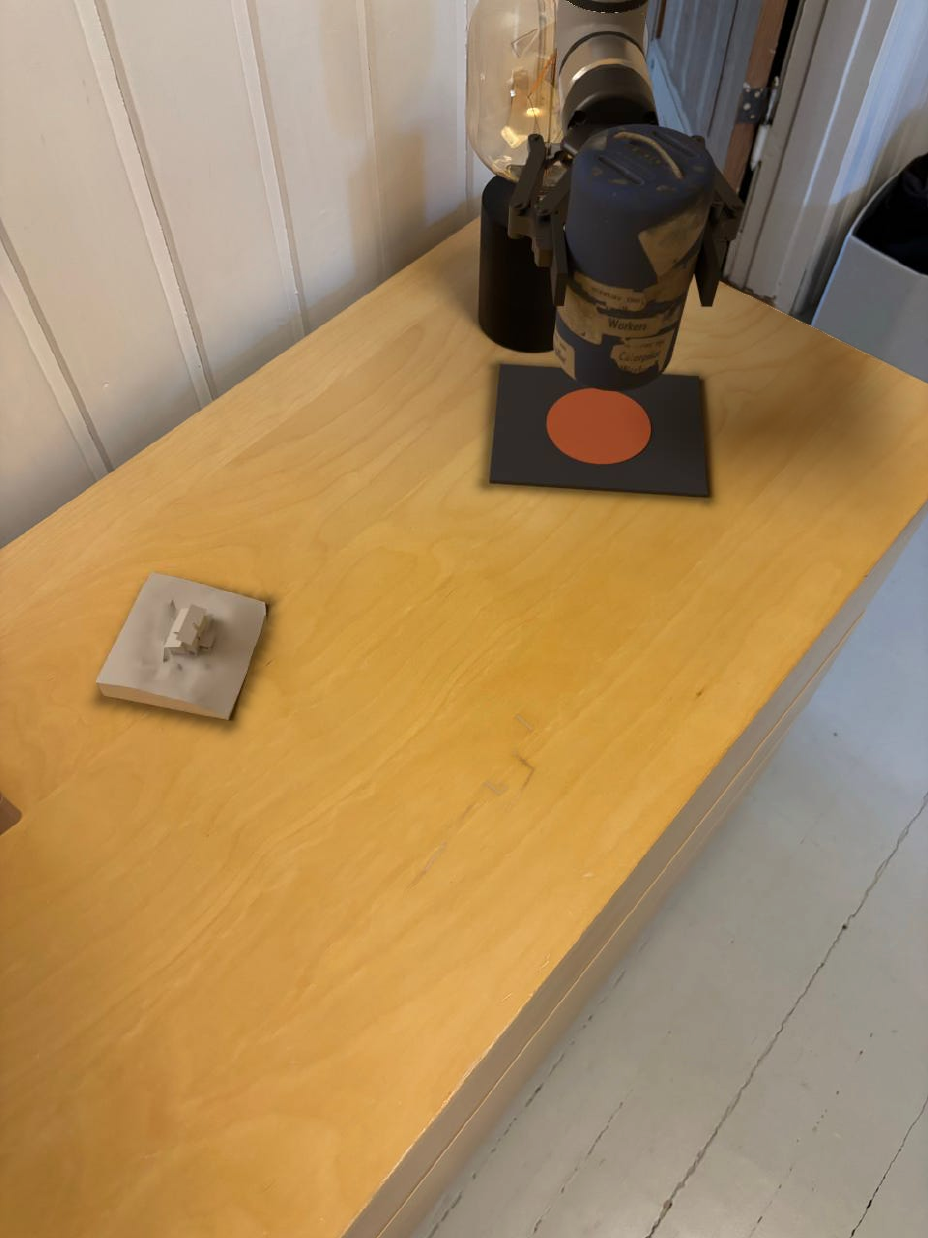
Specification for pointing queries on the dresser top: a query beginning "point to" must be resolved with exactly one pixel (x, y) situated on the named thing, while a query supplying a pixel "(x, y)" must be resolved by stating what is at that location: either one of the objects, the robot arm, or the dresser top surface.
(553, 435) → the mat
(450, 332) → the dresser top surface
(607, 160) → the canister
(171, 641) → the miniature house
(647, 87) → the robot arm
